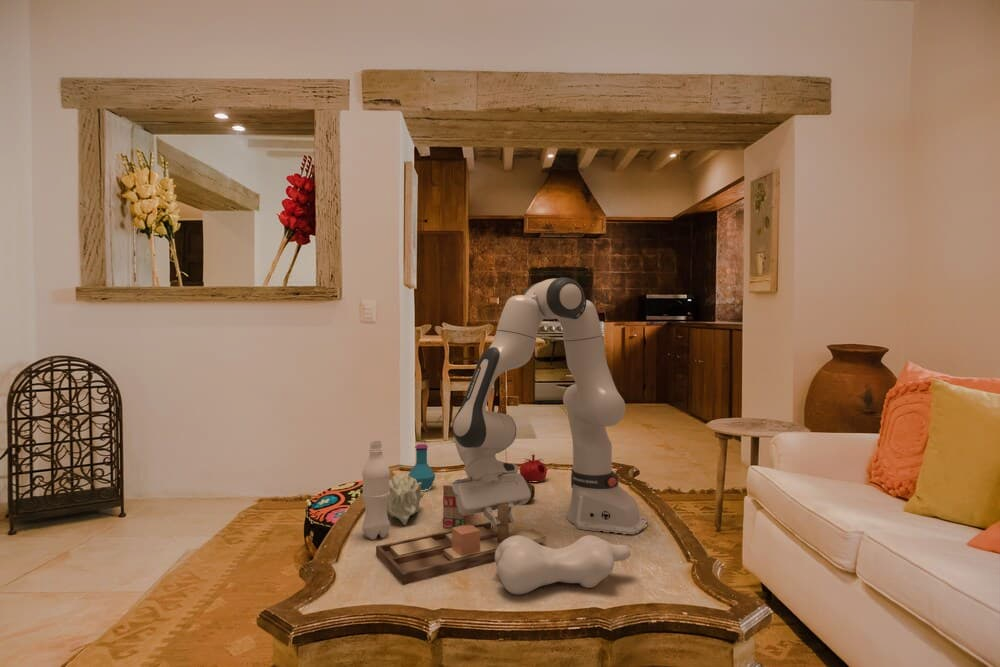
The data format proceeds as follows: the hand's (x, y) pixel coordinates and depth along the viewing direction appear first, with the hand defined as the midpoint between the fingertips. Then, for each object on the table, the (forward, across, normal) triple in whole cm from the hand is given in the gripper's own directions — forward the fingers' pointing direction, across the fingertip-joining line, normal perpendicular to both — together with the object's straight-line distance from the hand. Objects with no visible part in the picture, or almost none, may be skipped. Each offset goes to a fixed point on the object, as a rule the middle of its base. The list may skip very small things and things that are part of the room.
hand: (504, 523), depth 137 cm
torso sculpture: (+19, +3, -9) cm, 22 cm away
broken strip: (-2, -12, +12) cm, 17 cm away
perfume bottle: (-37, +3, +47) cm, 59 cm away
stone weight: (-18, +23, +28) cm, 40 cm away
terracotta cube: (+3, -10, +4) cm, 11 cm away
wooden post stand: (+4, -2, +5) cm, 6 cm away
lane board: (+1, -12, +8) cm, 15 cm away
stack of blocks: (-15, +3, +25) cm, 29 cm away
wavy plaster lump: (-21, -13, +31) cm, 39 cm away
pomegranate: (-29, +42, +39) cm, 64 cm away
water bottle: (-13, -24, +23) cm, 36 cm away
